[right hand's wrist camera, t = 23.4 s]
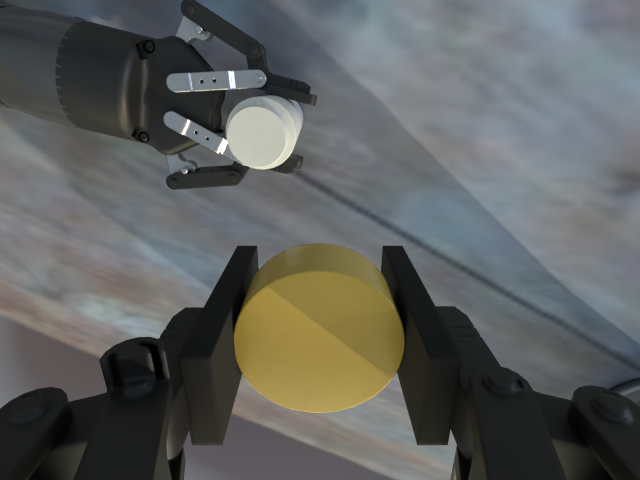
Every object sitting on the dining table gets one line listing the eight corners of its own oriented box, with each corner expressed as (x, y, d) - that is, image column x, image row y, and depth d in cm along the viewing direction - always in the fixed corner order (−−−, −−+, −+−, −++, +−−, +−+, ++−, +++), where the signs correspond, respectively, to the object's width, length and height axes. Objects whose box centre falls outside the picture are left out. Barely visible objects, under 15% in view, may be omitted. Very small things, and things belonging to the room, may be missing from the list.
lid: (420, 280, 12) (438, 313, 10) (350, 387, 14) (355, 433, 12) (280, 217, 11) (273, 241, 9) (224, 339, 13) (208, 380, 11)
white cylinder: (249, 120, 35) (203, 141, 20) (277, 84, 34) (248, 79, 19) (284, 150, 36) (263, 190, 21) (312, 115, 35) (310, 133, 20)
